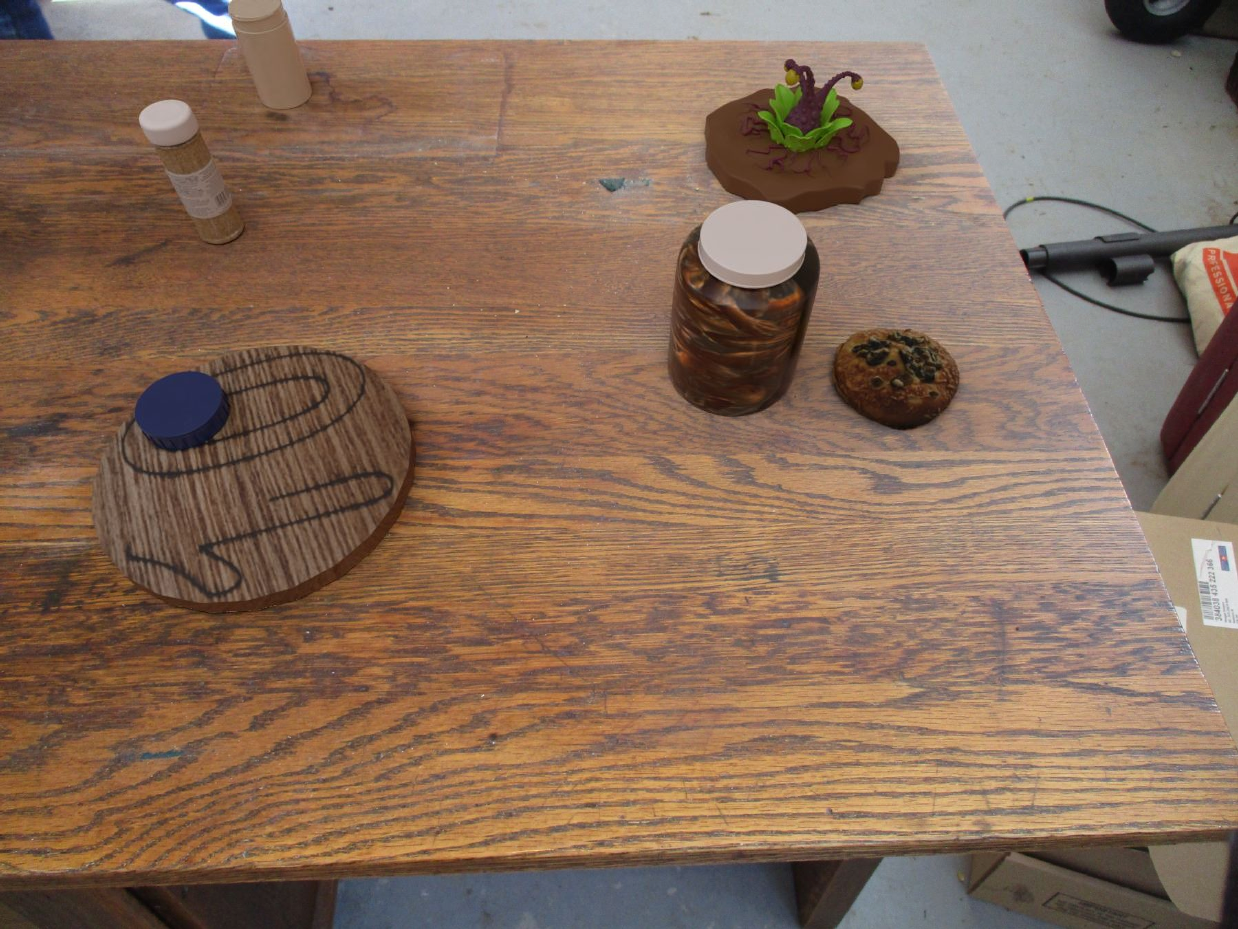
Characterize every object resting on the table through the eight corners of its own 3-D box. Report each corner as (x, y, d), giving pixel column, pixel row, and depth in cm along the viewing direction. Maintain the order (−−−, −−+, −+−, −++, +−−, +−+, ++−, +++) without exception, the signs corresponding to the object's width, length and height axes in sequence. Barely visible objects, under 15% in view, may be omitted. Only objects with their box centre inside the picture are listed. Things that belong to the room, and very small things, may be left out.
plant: (672, 132, 95) (678, 35, 86) (814, 88, 100) (834, -8, 91) (767, 238, 85) (786, 142, 76) (919, 183, 90) (954, 86, 81)
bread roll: (877, 448, 70) (891, 405, 66) (803, 369, 77) (812, 326, 73) (981, 408, 73) (999, 364, 69) (901, 336, 80) (914, 293, 76)
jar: (811, 407, 73) (852, 281, 60) (681, 424, 72) (695, 299, 59) (775, 311, 79) (805, 178, 67) (655, 325, 78) (663, 193, 66)
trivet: (458, 534, 66) (454, 522, 64) (126, 669, 59) (113, 659, 58) (367, 325, 78) (362, 310, 76) (85, 417, 72) (73, 404, 70)
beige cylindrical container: (250, 95, 99) (214, 4, 90) (291, 74, 101) (261, -17, 92) (280, 115, 96) (247, 24, 88) (322, 93, 99) (294, 2, 90)
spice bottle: (220, 211, 87) (162, 92, 76) (254, 225, 86) (201, 105, 75) (189, 238, 85) (125, 118, 73) (224, 252, 84) (164, 132, 72)
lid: (247, 397, 71) (239, 383, 69) (196, 461, 67) (187, 447, 66) (179, 375, 72) (170, 361, 71) (126, 436, 68) (114, 422, 67)
